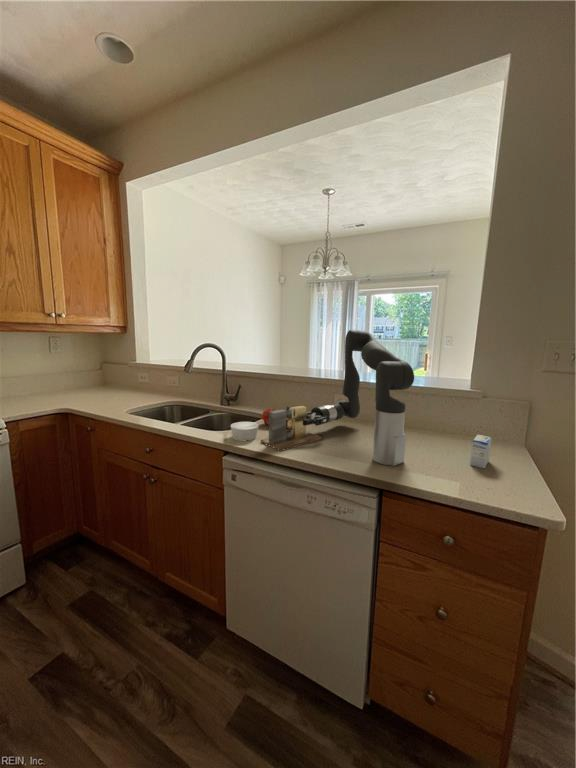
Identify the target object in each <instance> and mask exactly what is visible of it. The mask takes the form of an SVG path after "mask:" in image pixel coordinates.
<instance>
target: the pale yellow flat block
mask: <svg viewBox="0 0 576 768" xmlns="http://www.w3.org/2000/svg"><path fill="white" fill-rule="evenodd" d="M289 409H292V418H289V419H286V430H290V431H292V438H293V439H297V438H301V437H304V436H306V432H307V425H306V426H304V425H303V420H305V419H306V412H307V406H304V405H298V406H291V407H289Z"/></svg>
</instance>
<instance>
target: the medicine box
mask: <svg viewBox="0 0 576 768" xmlns="http://www.w3.org/2000/svg"><path fill="white" fill-rule="evenodd" d="M491 447H492V437H491V436H486V435H483V434H482V435H481V434H476V436H475V437H474V439H473V440H472V444H471V453H470V462H469V465H470V466H473V467H478V468H480V469H486V467H487V465H488V463H489V461H490V454H491V449H492V448H491Z"/></svg>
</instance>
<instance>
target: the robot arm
mask: <svg viewBox="0 0 576 768" xmlns="http://www.w3.org/2000/svg"><path fill="white" fill-rule="evenodd" d="M344 340H345V341H344V378H343V379H344V380H343V387H342V395H343V396H344V397H345V398H347V399H348V400H343V399H341V400H339V401H337V402H336V403H333V404H326V405H320V406H315V407H312V409H311V410H310V411H306V419H305V420H303V425H304V426H306V427H307V426H309V425H312V426H314V425H315V426H316V427H317V426H321V425H324V424H328V423H331V422H334V421H338V420H340V419H342V418H343V417H346V418H350V419H355V418H357V417H358V416H359V415H360V411H361V404H360V396H359V391H360V383H361V378H360V374H359V372H358V369H357V367H356V365H355V362H354V358H353V354H354V353H353V352H361V353H360V355H361V359H362V361H363V362H364V364H365V365H366V366H367V367H369V368H370V369H372V370H374V371H375V399H374V400H375V414H374V427H373V428H374V430H373V444H372V445H373V446H372V460H373V461H374V462H376V463H378V464H381V465H385V466H392V467H396V466H398V465H400V464H403V463H404V462H405V452H406V437H407V435H406V433H404V428H405V417H406V403H405V402H403V401H402V400H400V399H396V398H394V397H392V396H391V394H390V393H391V392H390V391H403V390H408V389H410V388H411V387H412V386H413V384H414V381H415V373H414V370H413V368H412V365H410V364H409V362H407V361H405V360H403V359H401V358H400V357H398V356H396V355H394V354H393V352H391V351H390V350H388V349H387V348H386V347H385V346H384V345H382V344H381V343H380V342H379V341H378V340H376V339H375V337H374V336H373V334H372V333H370V332H369V331H368V330H367V331H366V330H358V329H349V330H348V331H347V332H346V336H345V339H344Z"/></svg>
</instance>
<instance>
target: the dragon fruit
mask: <svg viewBox="0 0 576 768" xmlns="http://www.w3.org/2000/svg"><path fill="white" fill-rule="evenodd" d="M275 410H276V409H274V408H271V407H269V408H267V409H265V410H264V411H263V412H262V415H261V417H260V420H263V423H264V425H265V426H267V425H269V412H270V411H275Z"/></svg>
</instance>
